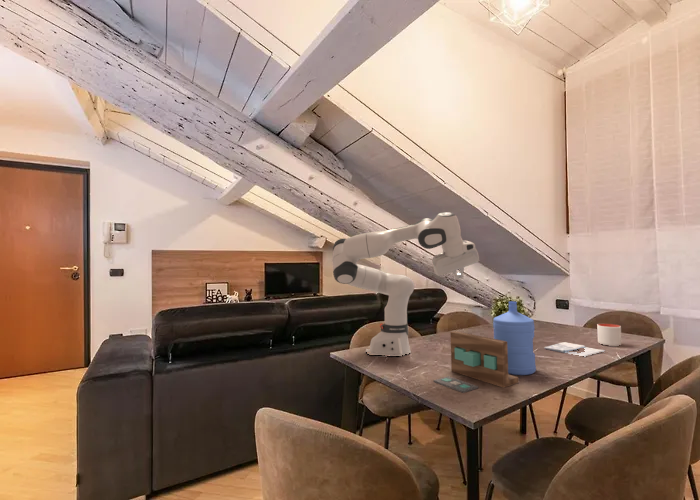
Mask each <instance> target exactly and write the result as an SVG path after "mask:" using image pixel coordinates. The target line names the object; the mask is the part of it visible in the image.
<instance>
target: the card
mask: <svg viewBox="0 0 700 500" xmlns="http://www.w3.org/2000/svg"><path fill="white" fill-rule="evenodd" d="M433 383H436V384H437V385H438V384H439V385H442V386H444V387H447V388H449V389H452V390H454V391H457V392H460V393H462V394H463V393H464V394H465V393H467V392H471V391H474V390H476V389H479V386H478V385H475V384H472V383H469V382H466V381H463V380H461V379H458V378H455V377H452V376H449V375H448V376H445V377H444V376H443V377H440V378H436V379H433Z"/></svg>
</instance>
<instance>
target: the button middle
mask: <svg viewBox="0 0 700 500" xmlns="http://www.w3.org/2000/svg"><path fill="white" fill-rule="evenodd" d="M463 358H464V364H465V365H469V366H472V367H474V366H478V365H481V352H477V351H473V350H472V351H468V352H464V353H463Z"/></svg>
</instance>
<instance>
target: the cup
mask: <svg viewBox="0 0 700 500" xmlns="http://www.w3.org/2000/svg"><path fill="white" fill-rule="evenodd" d="M596 325H597V329H596V330H597V343H598V344H599V343H600V345H601V344H603V345H602V346H605V345H609V346H608V347H620V346H621V345H622V326H621V325H619V324H614V323H597V324H596ZM619 345H620V346H619Z"/></svg>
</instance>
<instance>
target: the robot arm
mask: <svg viewBox="0 0 700 500" xmlns="http://www.w3.org/2000/svg"><path fill="white" fill-rule="evenodd" d="M461 233H462V230H461V225H460V221H459V218H458V216H457V215H456V214H455V213H454V212H450V211H447V212H446V211H445V212H440V213H438V214H437V215H436V216H435V217H434V218H433V219H432V218H428V217H427V218H425V217H424V218H422V219H420V220H418V221H417V222H415V223H413V224H410V225H405V226H402V227H401V226H400V227H397V228H392V229H385V230H379V231H377V230H376V231H372V232H371V231H370V232H364V233H360V234H356V235H352V236H349V237H347V238H339V239H337V240H336V241H335V242H334V244H333V247H332V259H331V260H332V261H331V262H332V270H333V271H332V272H333V273H332V274H333V277H334V280H335V282H337V283H339V284H341V285H342V284H343V285H349V286H352V287H355V288H358V289H359V288H360V289H362V290H366V291H367V290H368V291H371V292H375V293H377V294H383V295H385V296H388V301H387V304H386V306H385V307H384V323H380V324H379V327H380V332H378V333H377V334H376V335H375V336H373V337H372V338H371V339H370V343H369V347H370V349H367V348H366V349H365V353H366V352H371V353H368V354H373V355H390V356H401V357H402V355H403V356H406V355H405V354H407V355H410V354H411V353H412V351H411V347H410V343H409V324H408V313H407V312H408V304H409V300H410V297H411V295H412V294H413V293H414V290H415V283H414V281H413V279H412V278H411V277H409V276H407V275H405V274H397V273H389V272H385V271H383V270H380V269H378V268H374V267H371V266H368V265H362V264H358V262H359V261H360V260H365V259H372V258H373V259H374V258H377V257H381V256H383V255H386V253H388V252H389V250H390V249H391V248H392V247H393V246H394V245H396V244H397V243H400V242H406V241H411V240H415V239H416V240H417V241H418V244H419V245H420V247H421V248H424V249H427V250H430V249H435V248H437V247H439V246H441V248H442V252H441V253H438V254H435V255H433V257H432V258H431V262H432V264H433V270H434V271H433V272H434V274H435V275H436V276H438V277H442V276H445V275H447V274H450V273H452V275H454V278H455V279H456V280H460V279H461V278H463V277H464V275H463V274H464V271H465V268H466V267H469V266H471V265H473V264H477V263H479V261H480V255H479V252H478V249H477V248H476V244H475V243H474V242H472V241H470V240H469V241H468V240H463V238H462V235H461ZM458 270H459V271H458ZM457 271H458V273H457ZM409 353H410V354H409Z"/></svg>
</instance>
